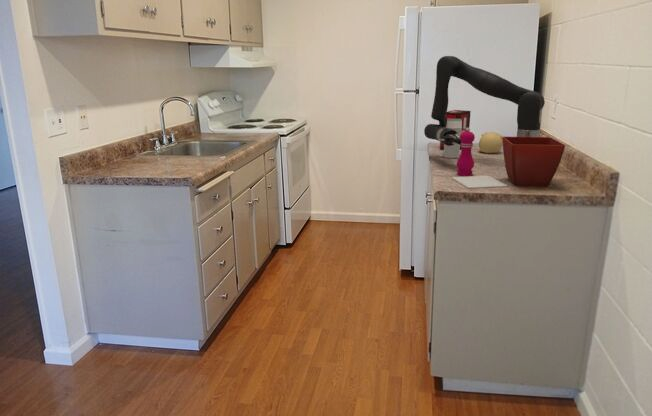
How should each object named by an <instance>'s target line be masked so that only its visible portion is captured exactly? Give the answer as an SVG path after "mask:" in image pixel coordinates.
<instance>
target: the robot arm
mask: <svg viewBox="0 0 652 416" xmlns="http://www.w3.org/2000/svg"><path fill="white" fill-rule="evenodd" d="M452 77H453V78H456V79H460V80H462V81H464V82H466V83H468V84H469V86H470V85H471V86H472V87H473V88H474V89H475V90H477V91H478V92H481V93H483V94H485V95H487V96H490V97H492V98H497V99H500V100H505V101H509V102H511V103H514V104H516V105H517V114H516V116H517V117H516V123H517V131H516V137H540V130H541V122H540V113H541V110H542V109H543V108H544V107H545V98H544V96H543V95H542V94H541V92H538V91H534V90H531V89H527V88H526V87H525V88H524V87H523V86H519V85H517V84H514V82H511V81H509V80H507V79H505V78H503V77H501V76H499V75H497V74H495V73H493V72H491V71H487V70H484V69H482V68H479V67H475V66H472V65H471V64H469V63H467V62H465V61H463V60H462V59H460V58H458V57H456V56H454V55H444V56H442V57H440V58H439V59H438V61H437V63H436V76H435V91H434V97H433V98H434V99H433V104H432V108H431V109H432V110H431V115H430V117H431V119H432V120H435V121H438V123H439V124H437V123H428V124H427V125H425V126H424V127H425V128H424V130H423V131H424V132H423V133H424V136H425V137H426V138H427V139H430V140H436V141H438V142H439V143H440V142H441V143H443V144H445V145H447V146H452V145H454V144H459V145H461V143H462V142H461V141H460V136H459V135H458V133H457V132H456V131H455V130H453V129H450V128H446V113H447V112H448V107H449V84H450V81H451V78H452Z"/></svg>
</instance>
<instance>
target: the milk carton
mask: <svg viewBox="0 0 652 416" xmlns="http://www.w3.org/2000/svg"><path fill="white" fill-rule="evenodd" d="M446 128H450V129H453V130H455V131H456V132H457V133H458V135H459V136H460V135H461V132H462V119H449V118H447V123H446ZM460 153H461V151H460V145H459V144H454V145H452V146H447V145H445V144H444V150H443V157H444V158H449V159H458V158H459V157H460Z"/></svg>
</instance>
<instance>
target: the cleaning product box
mask: <svg viewBox="0 0 652 416" xmlns="http://www.w3.org/2000/svg"><path fill="white" fill-rule="evenodd" d="M471 113H472V112H471V110H463V109H462V110H460V109H458V110H457V109H454V110H453V109H452V110H447V113H446V123H447V118H449V119H462V132H461V133H463V132H465V131H466V128H470V124H471V122H470V121H471ZM460 150H461V146H460ZM439 151H444V144H443V143H441V142H440V141H439Z"/></svg>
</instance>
